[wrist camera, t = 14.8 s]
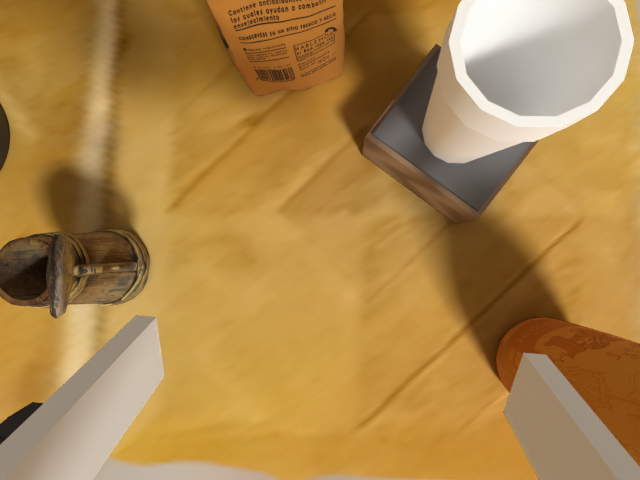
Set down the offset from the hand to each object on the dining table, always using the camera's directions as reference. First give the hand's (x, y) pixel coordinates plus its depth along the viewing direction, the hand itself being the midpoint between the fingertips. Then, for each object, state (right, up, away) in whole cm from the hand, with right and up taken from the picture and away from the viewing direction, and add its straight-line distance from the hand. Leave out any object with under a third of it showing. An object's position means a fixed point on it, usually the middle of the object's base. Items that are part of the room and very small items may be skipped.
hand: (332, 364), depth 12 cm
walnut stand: (+13, +15, +25) cm, 32 cm away
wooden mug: (-23, +1, +27) cm, 35 cm away
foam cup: (+12, +15, +19) cm, 27 cm away
